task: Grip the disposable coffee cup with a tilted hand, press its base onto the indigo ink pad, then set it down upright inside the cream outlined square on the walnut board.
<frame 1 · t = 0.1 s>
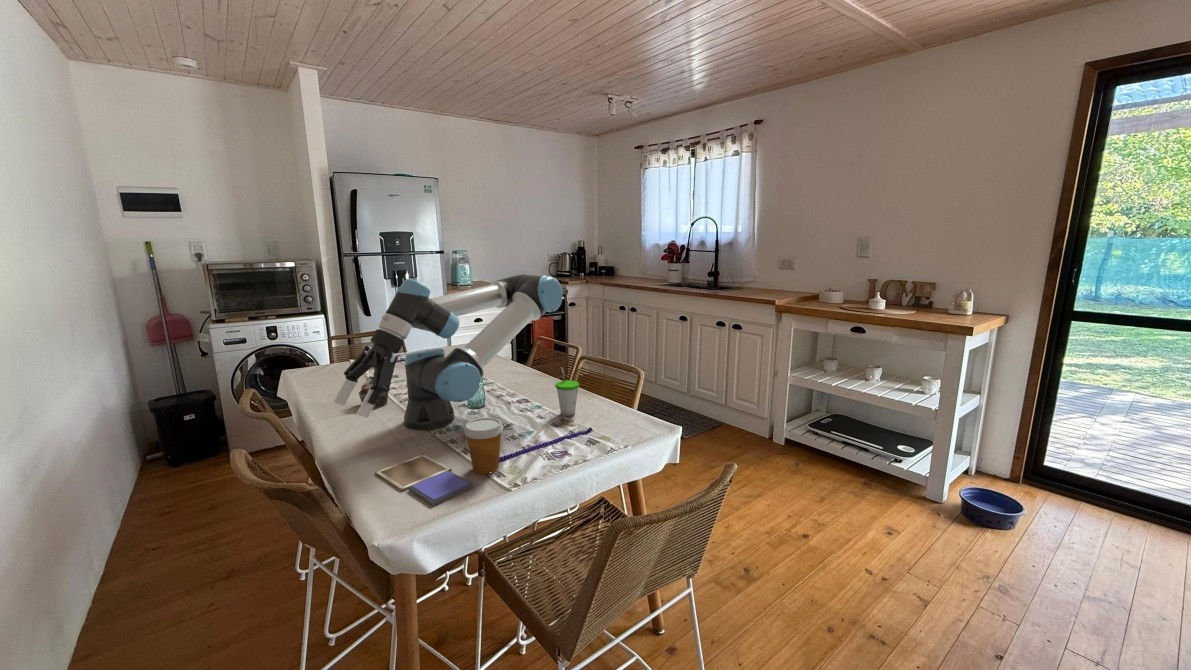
hand: (349, 409, 122), 15 cm above the table, tool tilted 35°, fingers open, 13 cm apart
marked board: (413, 472, 121), on the table
cupcake: (375, 405, 171), on the table
ink pad: (441, 489, 113), on the table
disposable coffee cup: (485, 469, 123), on the table
cup: (567, 414, 161), on the table
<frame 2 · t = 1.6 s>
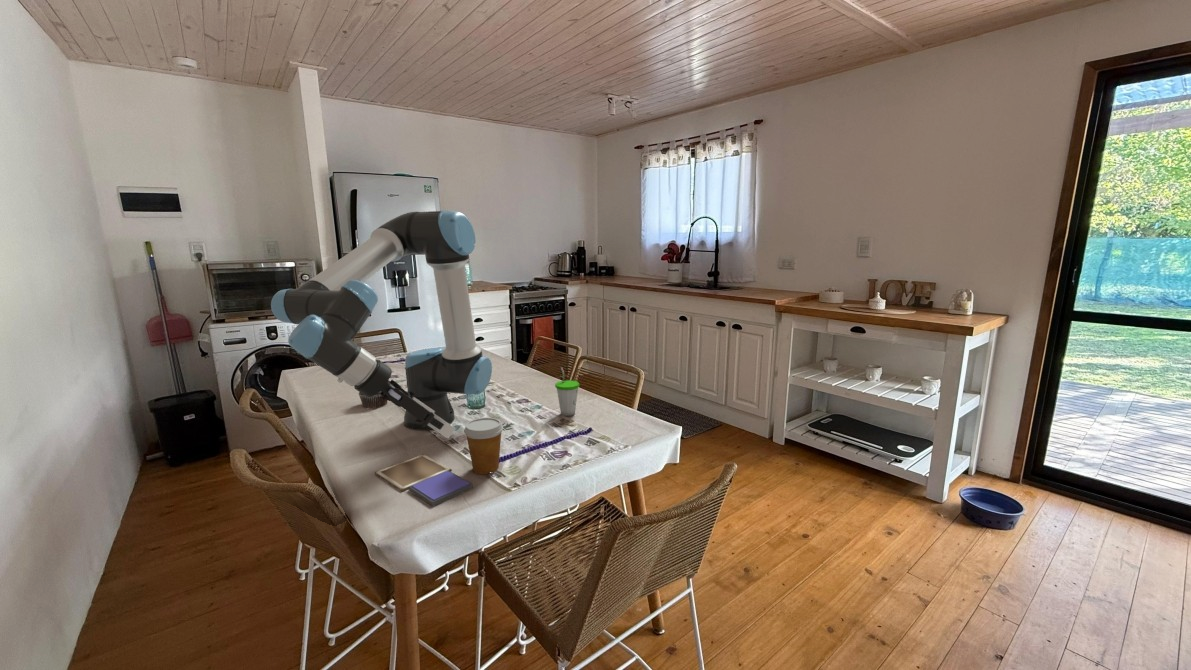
hand: (440, 424, 114), 15 cm above the table, tool tilted 45°, fingers open, 13 cm apart
nothing on the table moved.
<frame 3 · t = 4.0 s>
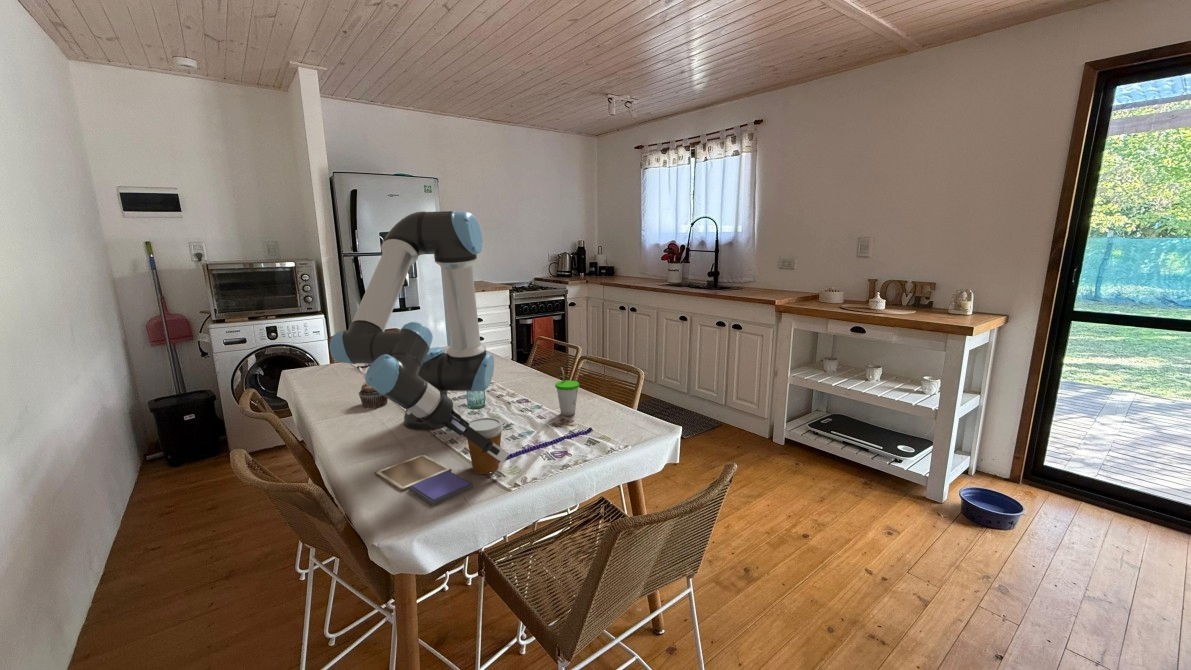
hand: (496, 451, 124), 4 cm above the table, tool tilted 45°, fingers closed on disposable coffee cup, 9 cm apart
disposable coffee cup: (485, 469, 123), on the table, touching gripper
everything else where it was.
when the fingers open (5 cm above the table, at t = 14.8 s): disposable coffee cup moves 4 cm, resting on marked board.
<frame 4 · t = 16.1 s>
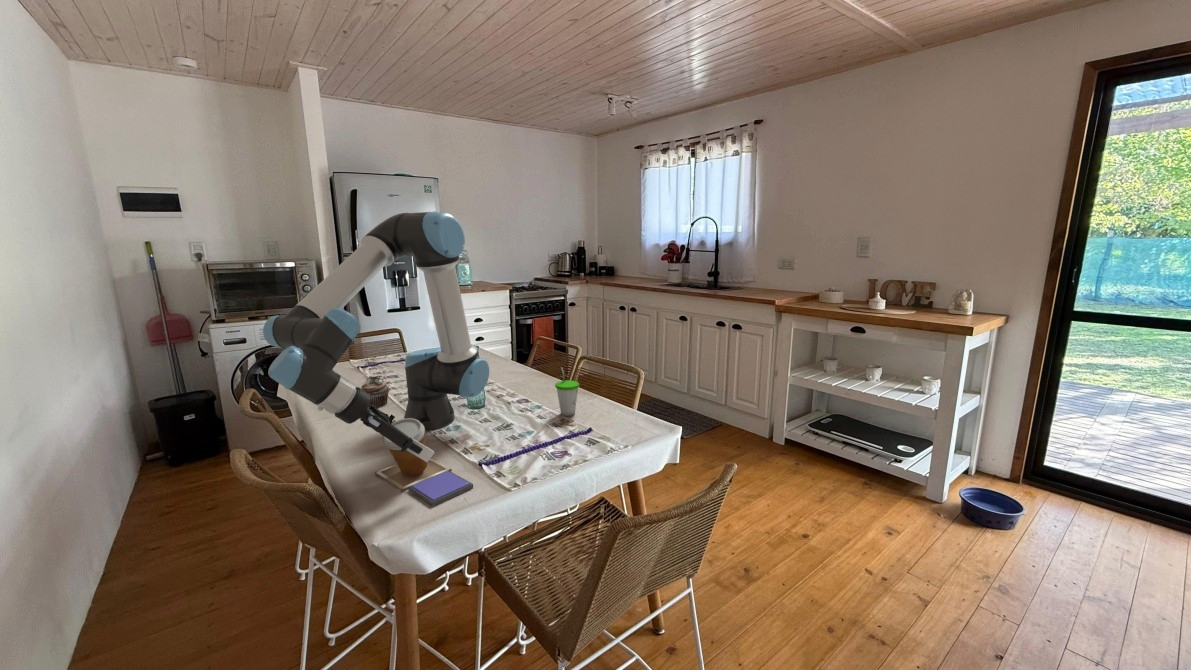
hand: (420, 446, 117), 8 cm above the table, tool tilted 45°, fingers open, 13 cm apart
disposable coffee cup: (414, 467, 121), point 1 cm above the table, touching marked board
everything else where it was.
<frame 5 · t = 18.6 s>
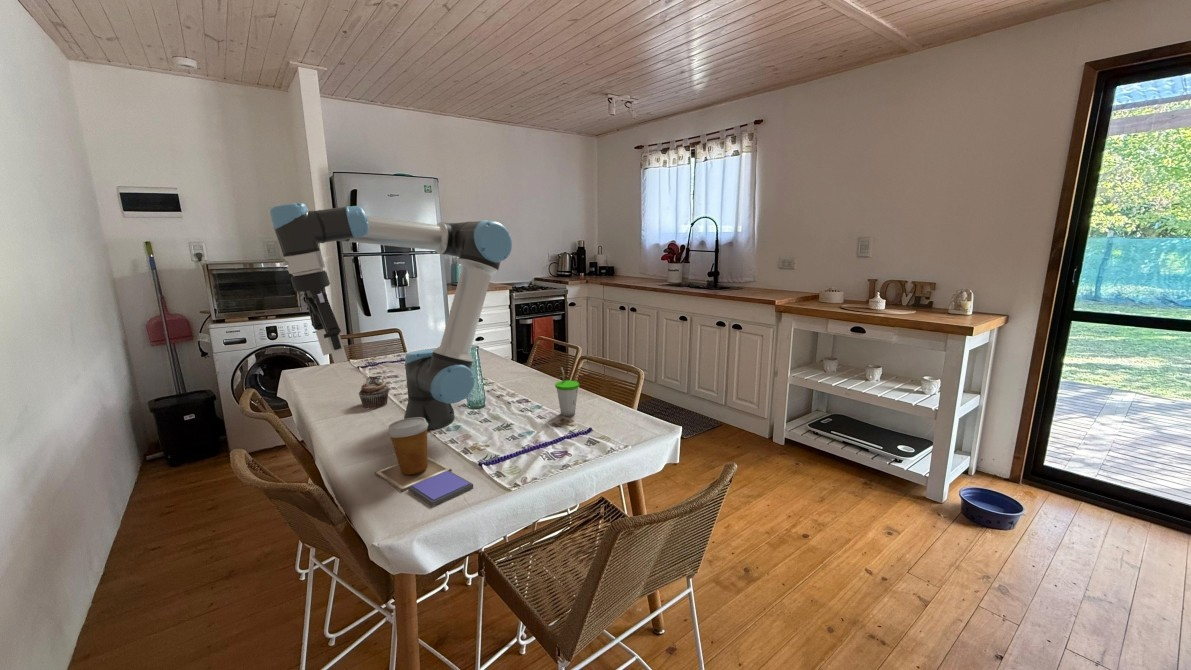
hand: (335, 357, 119), 29 cm above the table, tool pointing down, fingers open, 13 cm apart
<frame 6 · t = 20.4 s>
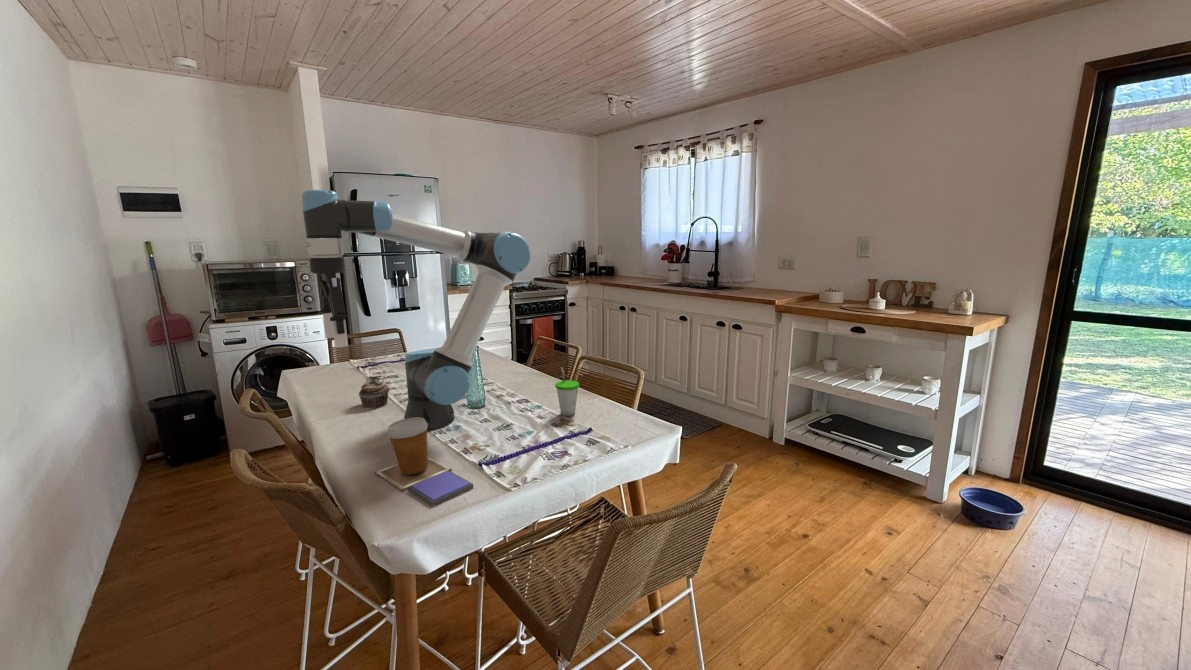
hand: (336, 342, 123), 32 cm above the table, tool pointing down, fingers open, 13 cm apart
at the end: disposable coffee cup inside the target area on the marked board (0.3 cm from its centre), point 0.6 cm above the marked board's base; disposable coffee cup tilted 6°; the gripper is holding nothing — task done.
